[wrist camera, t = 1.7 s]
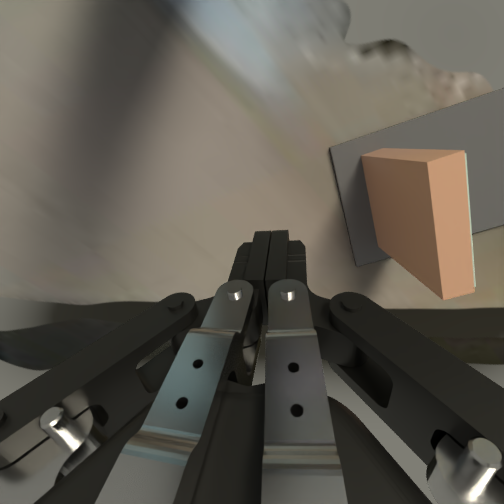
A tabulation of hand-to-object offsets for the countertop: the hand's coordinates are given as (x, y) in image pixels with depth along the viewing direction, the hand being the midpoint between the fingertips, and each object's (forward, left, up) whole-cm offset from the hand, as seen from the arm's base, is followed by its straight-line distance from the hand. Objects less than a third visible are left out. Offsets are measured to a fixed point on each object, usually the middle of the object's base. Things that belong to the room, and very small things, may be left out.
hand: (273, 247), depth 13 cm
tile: (+1, +15, -23) cm, 28 cm away
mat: (-1, +21, -24) cm, 32 cm away
